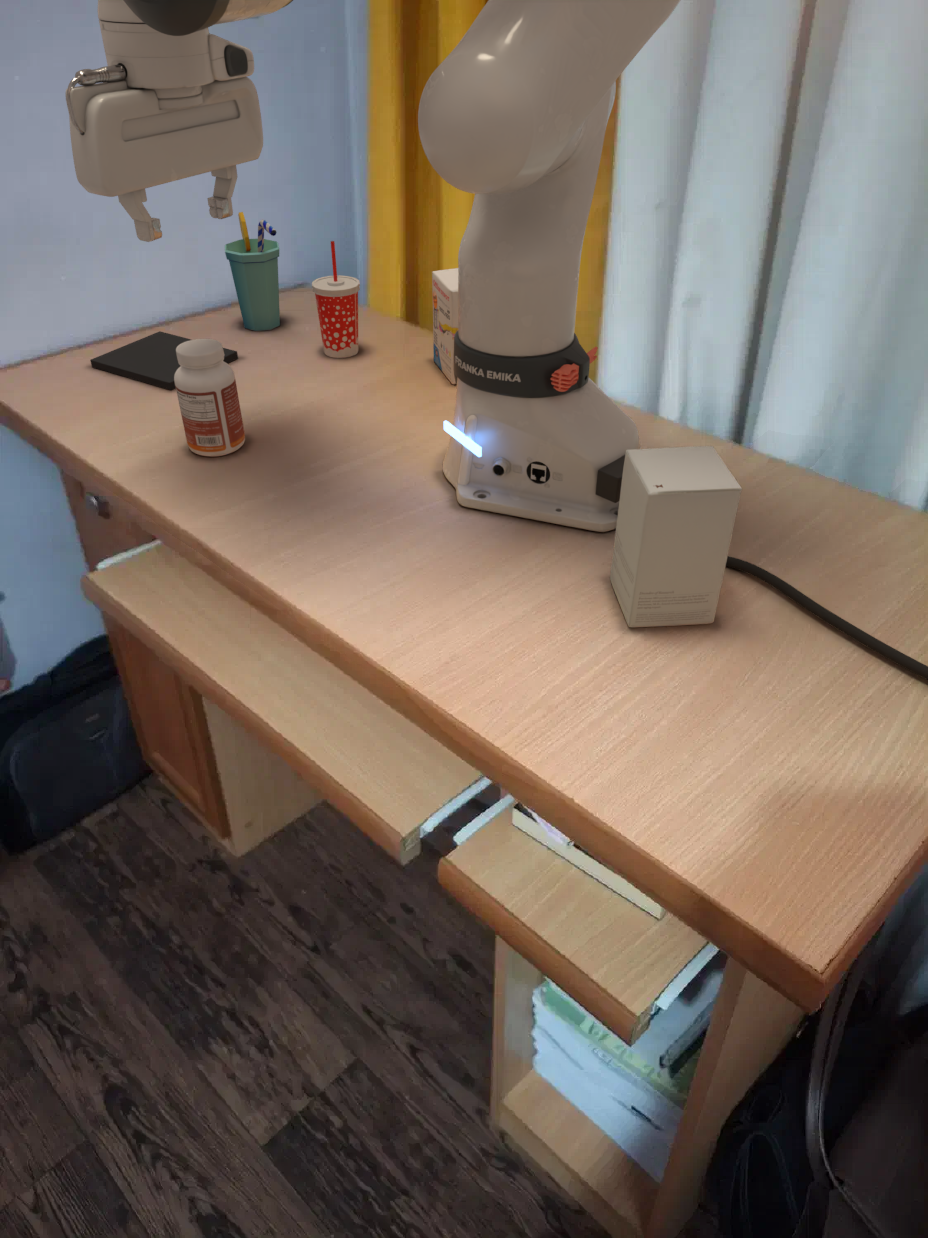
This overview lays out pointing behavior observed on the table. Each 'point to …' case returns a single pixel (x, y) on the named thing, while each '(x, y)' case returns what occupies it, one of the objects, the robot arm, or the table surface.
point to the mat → (149, 359)
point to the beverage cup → (338, 312)
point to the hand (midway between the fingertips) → (187, 227)
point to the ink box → (445, 319)
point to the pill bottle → (208, 398)
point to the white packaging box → (673, 535)
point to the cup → (256, 276)
